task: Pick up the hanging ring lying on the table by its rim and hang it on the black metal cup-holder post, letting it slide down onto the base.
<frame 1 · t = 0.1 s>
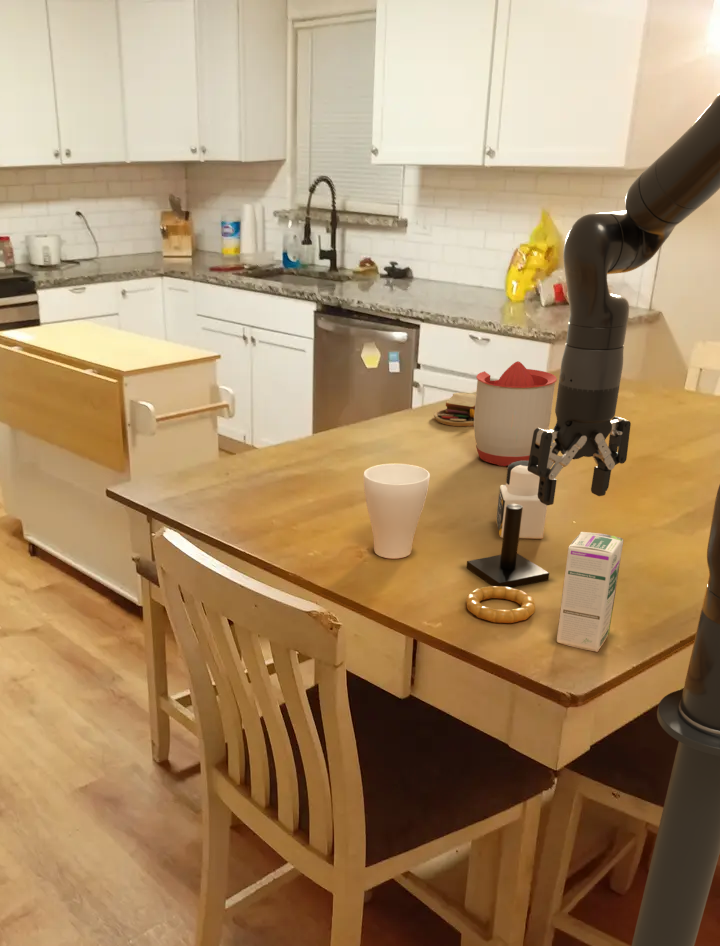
hand: (572, 498, 130), 16 cm above the table, tool pointing down, fingers open, 8 cm apart
citrus juicer: (505, 458, 199), on the table
ring: (500, 604, 137), point 1 cm above the table
syrup box: (581, 640, 129), on the table
holder: (506, 573, 148), on the table
cup: (392, 552, 157), on the table
toy sandwich meal: (459, 420, 225), on the table
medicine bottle: (518, 532, 164), on the table
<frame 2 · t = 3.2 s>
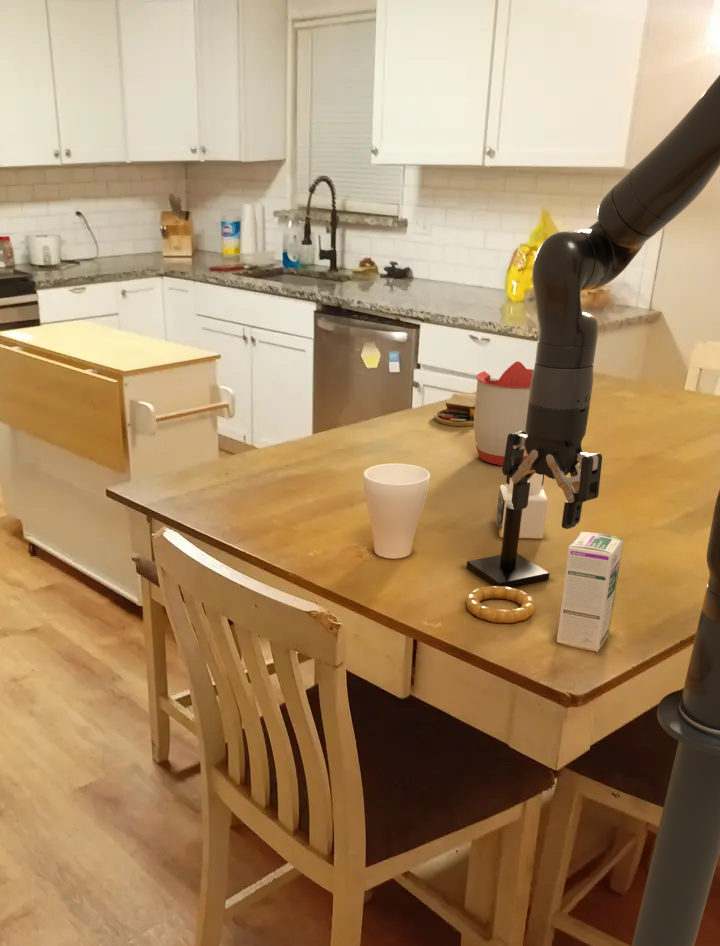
hand: (543, 517, 129), 15 cm above the table, tool pointing down, fingers open, 8 cm apart
nothing on the table moved.
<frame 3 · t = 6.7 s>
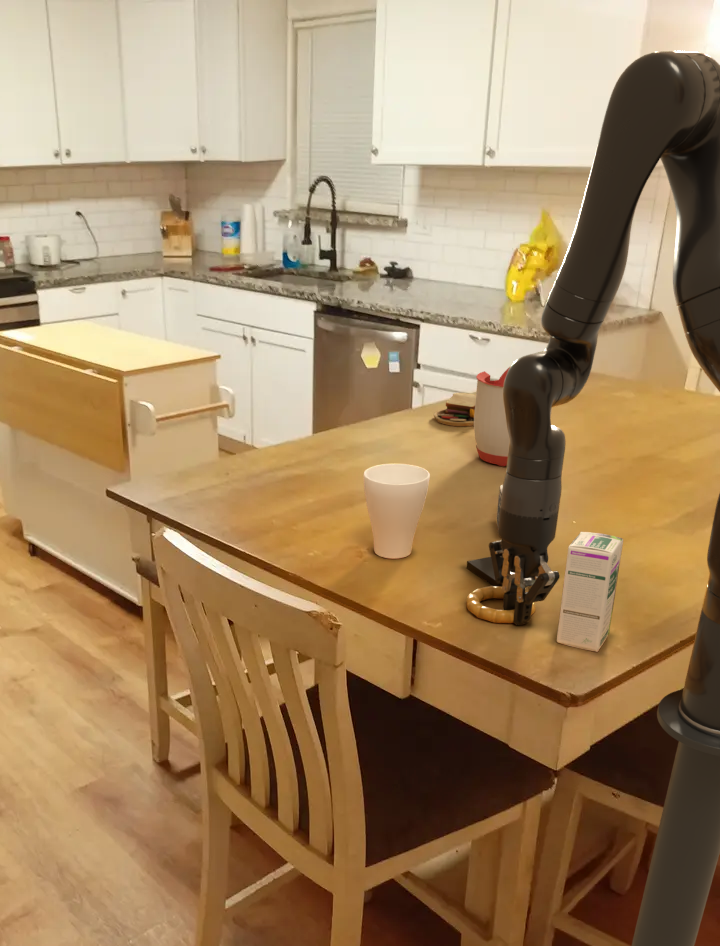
hand: (515, 619, 135), 0 cm above the table, tool pointing down, fingers closed on ring, 2 cm apart
ring: (500, 604, 137), point 1 cm above the table, touching gripper
everything else where it was.
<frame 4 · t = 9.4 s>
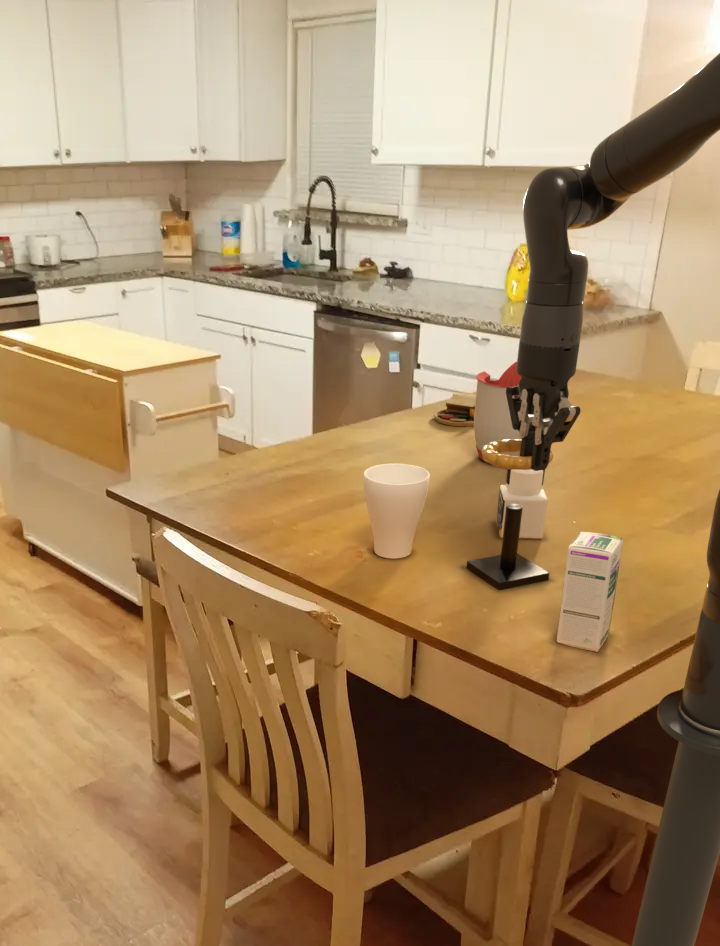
hand: (533, 466, 131), 20 cm above the table, tool pointing down, fingers closed on ring
ring: (516, 454, 134), point 21 cm above the table, touching gripper
everything else where it was.
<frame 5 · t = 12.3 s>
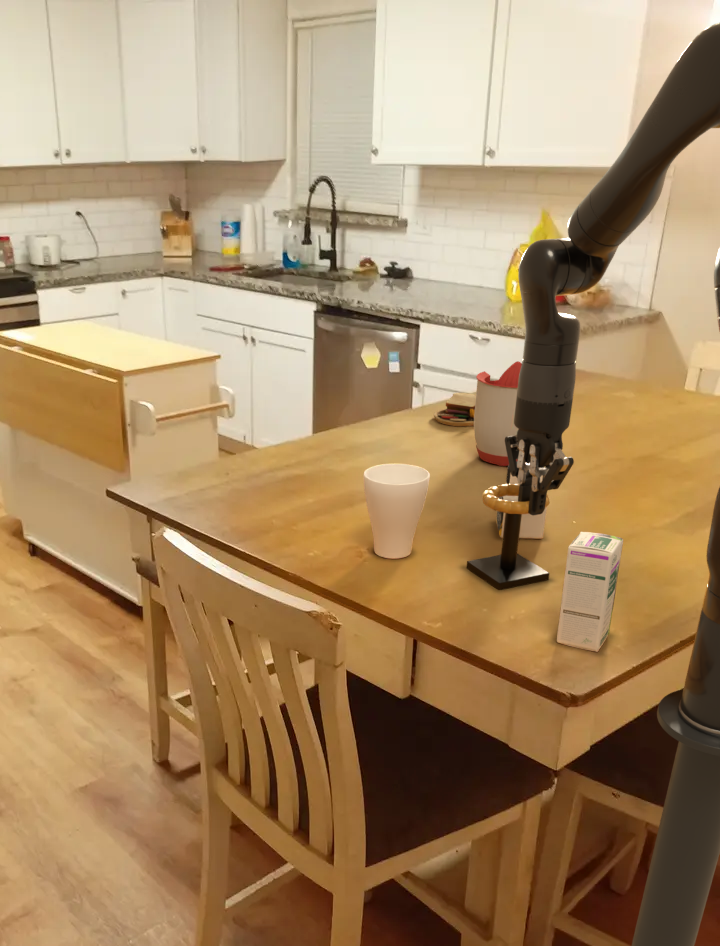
hand: (530, 510, 140), 12 cm above the table, tool pointing down, fingers closed on ring
ring: (515, 498, 142), point 12 cm above the table, touching gripper
everything else where it was.
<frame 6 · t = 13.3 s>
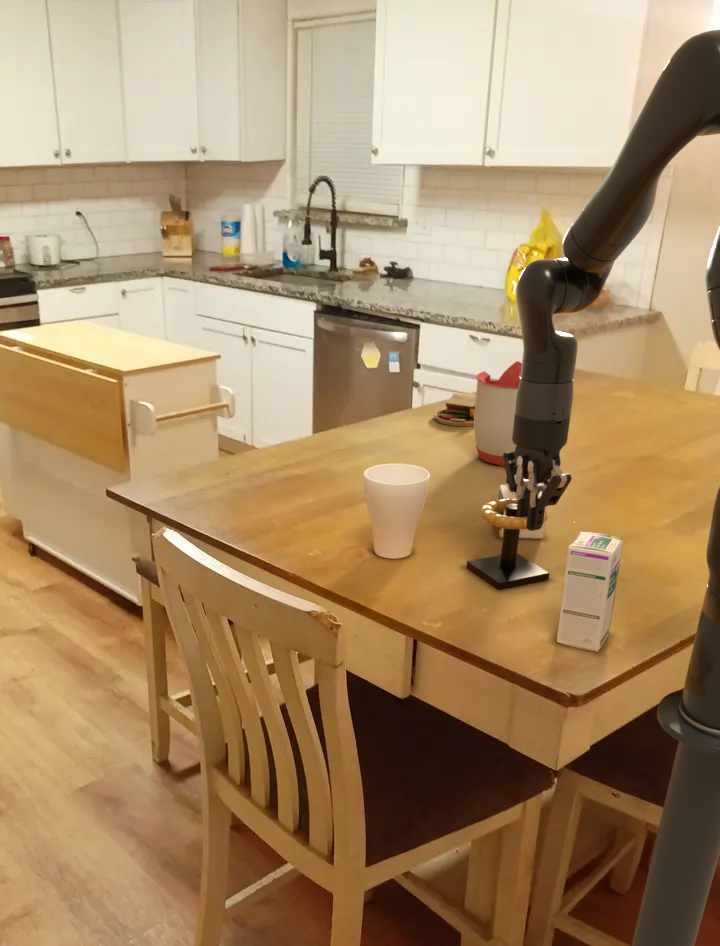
hand: (528, 526, 141), 9 cm above the table, tool pointing down, fingers closed on ring
ring: (513, 513, 144), point 10 cm above the table, touching gripper
everything else where it was.
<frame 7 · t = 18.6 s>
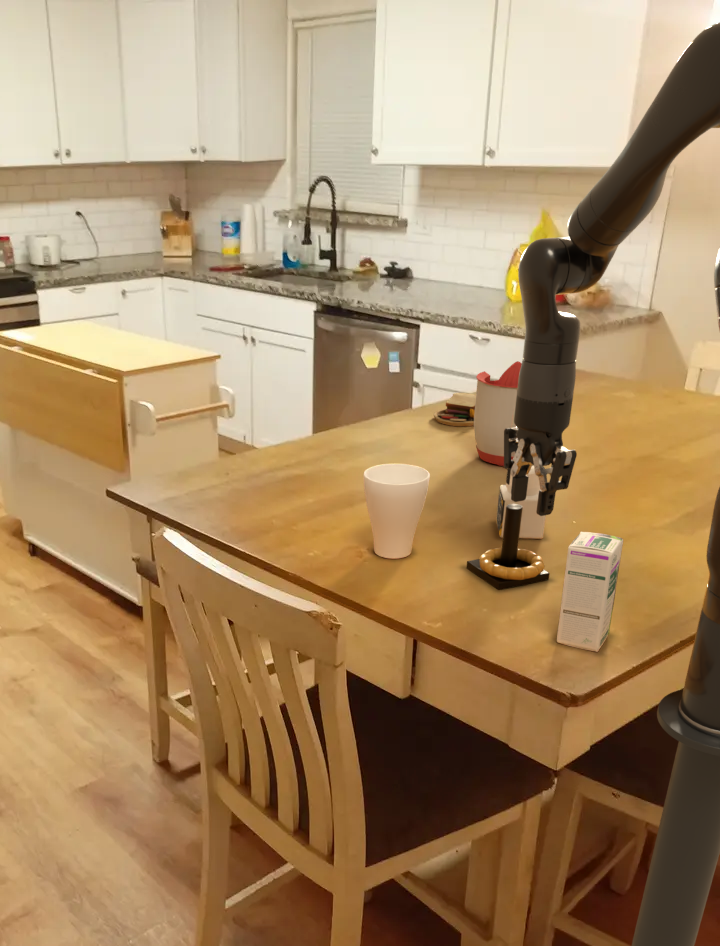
hand: (531, 507, 139), 12 cm above the table, tool pointing down, fingers open, 5 cm apart
ring: (511, 563, 147), point 2 cm above the table, touching holder
everything else where it was.
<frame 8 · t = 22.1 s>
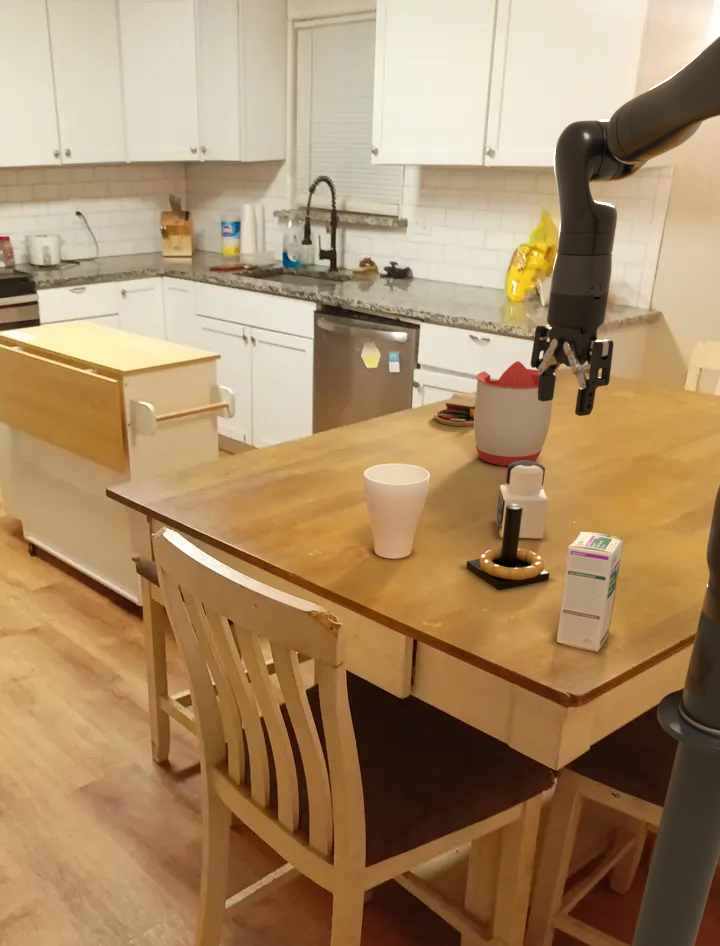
hand: (563, 407, 136), 26 cm above the table, tool pointing down, fingers open, 8 cm apart
nothing on the table moved.
at the end: ring 0.7 cm from the holder (horizontally); ring point 2.1 cm above the table; the gripper is holding nothing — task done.
